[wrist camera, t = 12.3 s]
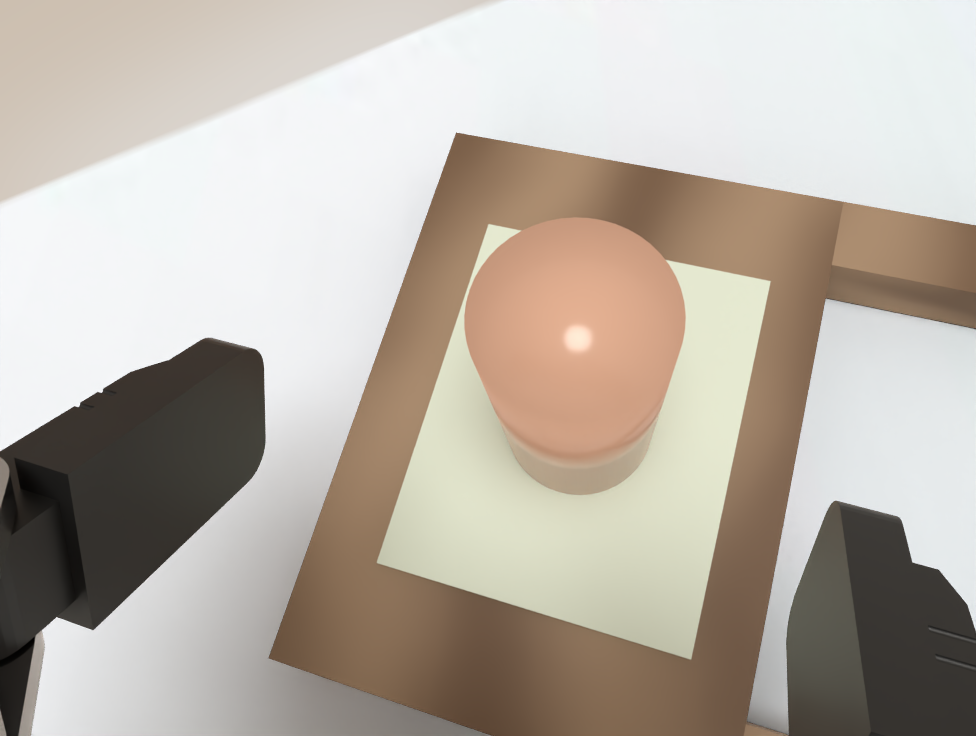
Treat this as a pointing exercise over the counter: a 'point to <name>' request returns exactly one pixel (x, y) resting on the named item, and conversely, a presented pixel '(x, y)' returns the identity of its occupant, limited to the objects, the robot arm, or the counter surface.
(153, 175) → the counter surface
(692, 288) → the hole board
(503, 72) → the counter surface
